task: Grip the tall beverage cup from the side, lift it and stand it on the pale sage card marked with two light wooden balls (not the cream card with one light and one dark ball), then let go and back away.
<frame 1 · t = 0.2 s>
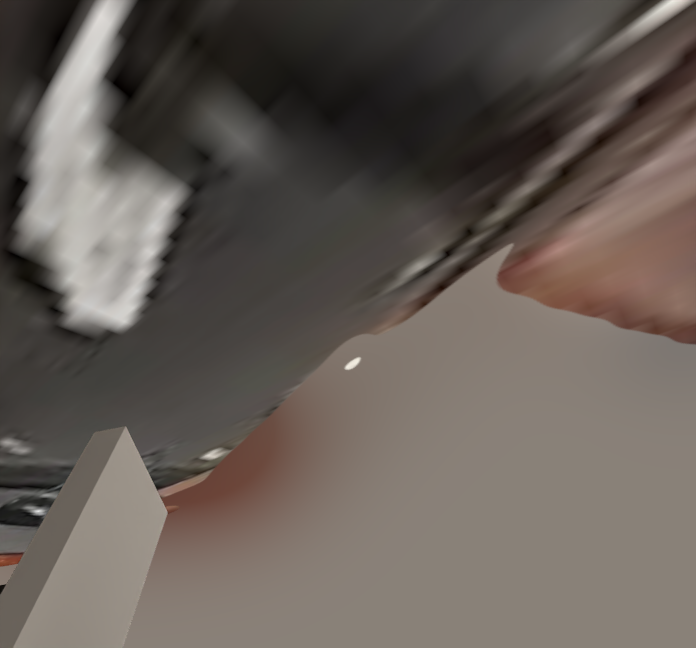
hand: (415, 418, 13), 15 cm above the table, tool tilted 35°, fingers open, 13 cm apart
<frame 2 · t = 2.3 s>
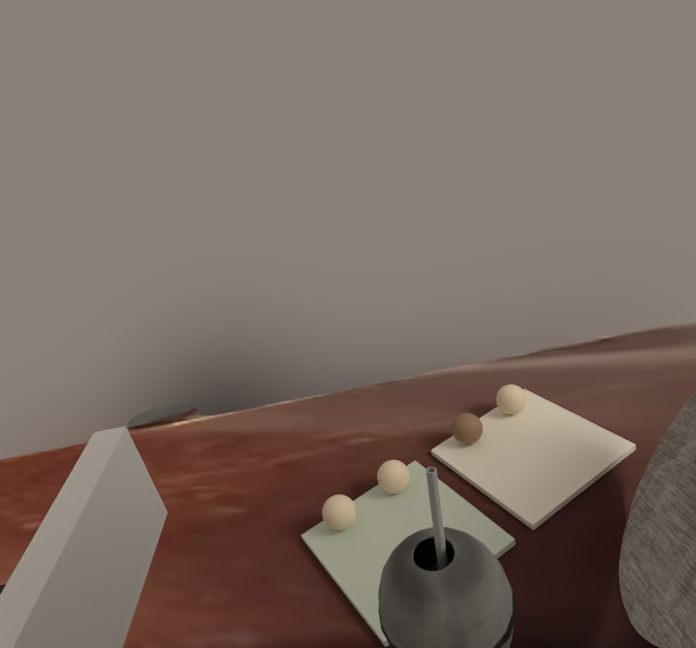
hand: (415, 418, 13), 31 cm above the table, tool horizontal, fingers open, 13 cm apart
cream card: (528, 452, 55), on the table
sage card: (403, 542, 49), on the table
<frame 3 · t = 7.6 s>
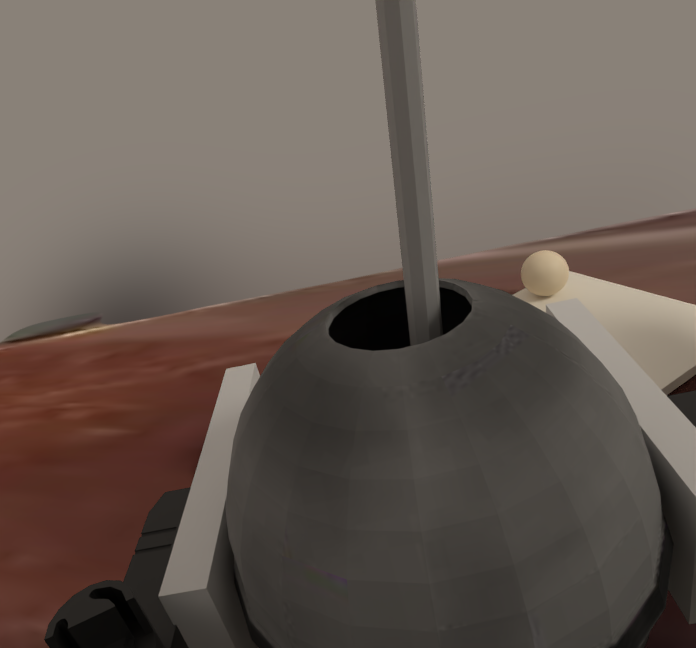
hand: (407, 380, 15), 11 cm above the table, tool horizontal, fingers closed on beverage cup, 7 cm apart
cream card: (574, 342, 34), on the table
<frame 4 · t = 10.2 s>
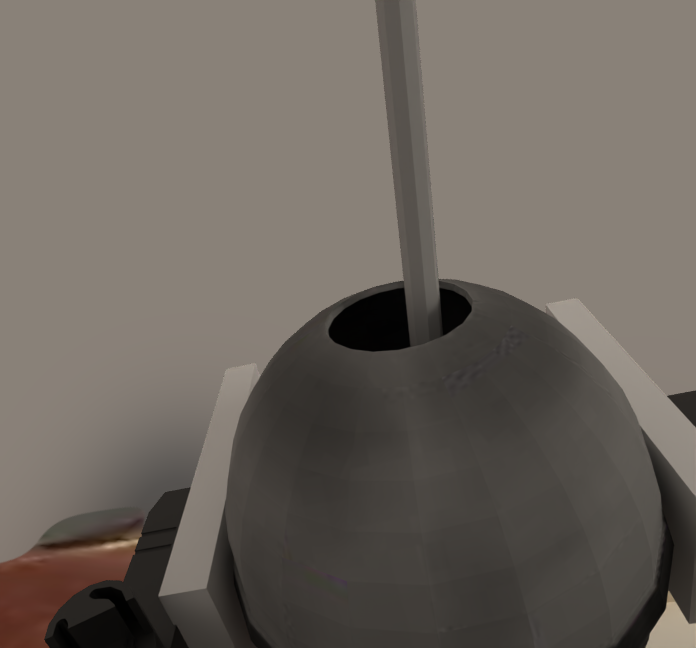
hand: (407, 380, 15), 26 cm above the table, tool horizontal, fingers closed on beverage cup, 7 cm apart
when the fingers open (13 cm above the table, at t = 13.1 s): beverage cup drops 1 cm, resting on sage card.
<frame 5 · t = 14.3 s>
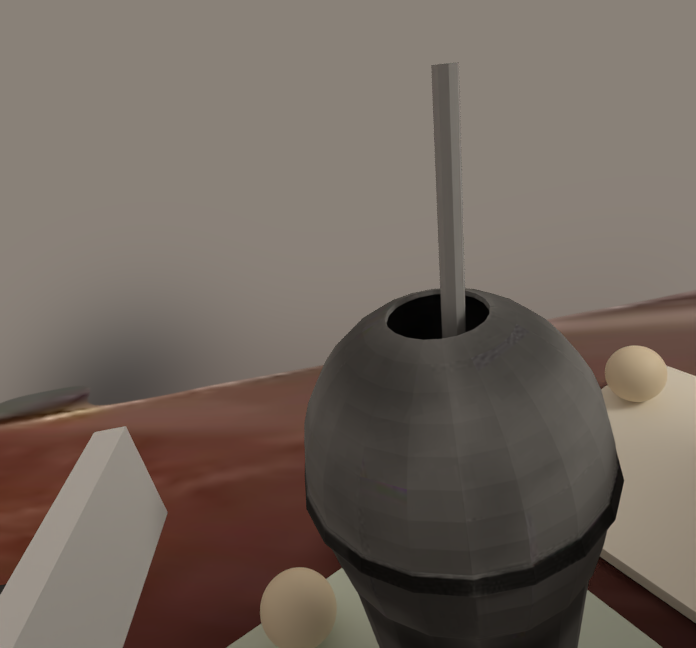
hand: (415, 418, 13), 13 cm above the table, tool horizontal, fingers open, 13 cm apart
cream card: (689, 476, 27), on the table
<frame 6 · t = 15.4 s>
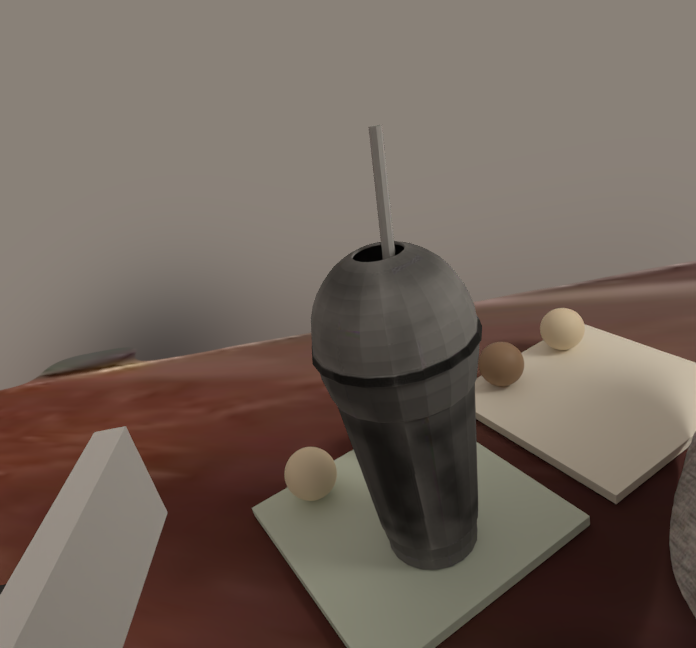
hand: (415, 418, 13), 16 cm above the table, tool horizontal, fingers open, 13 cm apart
cream card: (591, 397, 37), on the table
beverage cup: (433, 536, 30), resting on sage card
sage card: (408, 519, 32), on the table
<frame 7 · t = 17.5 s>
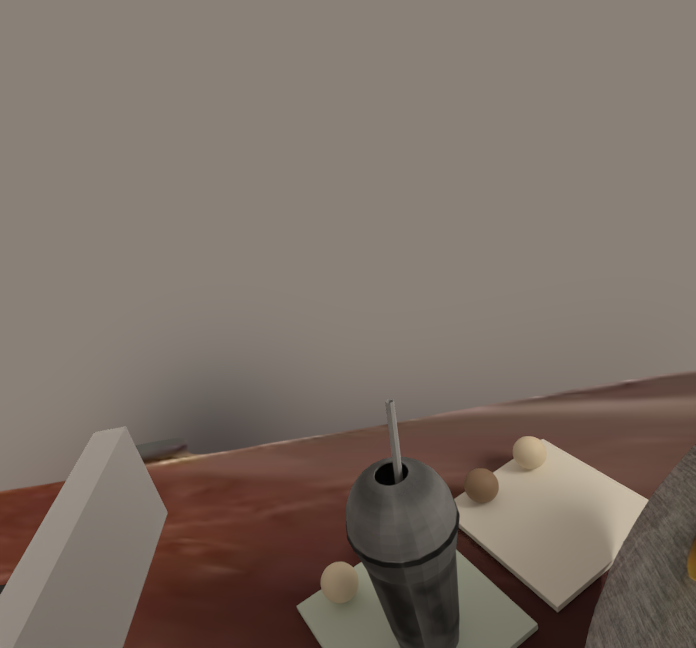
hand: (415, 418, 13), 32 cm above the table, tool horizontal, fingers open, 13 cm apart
cream card: (549, 515, 50), on the table
beverage cup: (428, 635, 42), resting on sage card
sage card: (410, 619, 44), on the table
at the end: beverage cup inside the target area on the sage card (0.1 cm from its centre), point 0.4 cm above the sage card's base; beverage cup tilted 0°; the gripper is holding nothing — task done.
